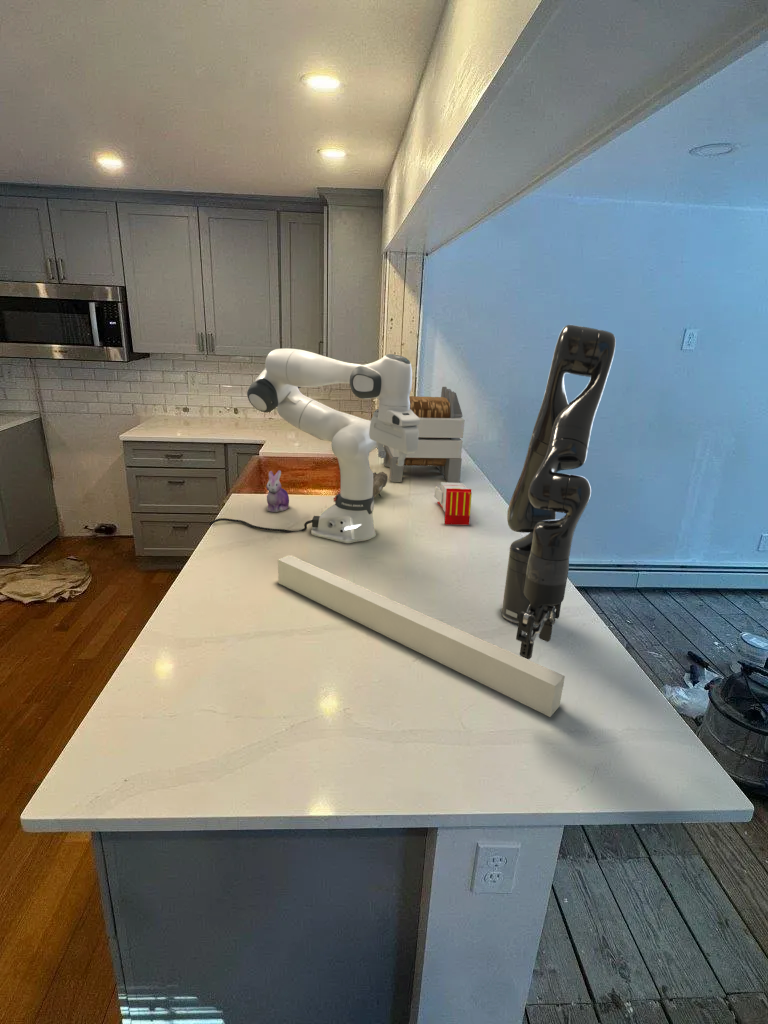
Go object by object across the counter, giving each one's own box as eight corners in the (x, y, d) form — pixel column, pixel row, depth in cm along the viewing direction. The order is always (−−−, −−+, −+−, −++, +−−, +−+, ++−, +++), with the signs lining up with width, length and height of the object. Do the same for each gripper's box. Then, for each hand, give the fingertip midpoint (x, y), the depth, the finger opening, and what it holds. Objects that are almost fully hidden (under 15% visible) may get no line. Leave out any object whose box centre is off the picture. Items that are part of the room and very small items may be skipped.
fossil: (356, 478, 247) (383, 459, 242) (370, 494, 250) (397, 476, 245) (349, 499, 228) (378, 479, 223) (363, 516, 230) (393, 497, 225)
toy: (462, 478, 235) (476, 490, 206) (460, 509, 238) (473, 526, 208) (433, 477, 234) (442, 489, 205) (431, 509, 237) (440, 525, 208)
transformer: (382, 463, 289) (386, 382, 275) (445, 464, 293) (451, 384, 279) (390, 482, 257) (394, 392, 243) (460, 483, 261) (468, 394, 247)
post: (278, 583, 161) (277, 559, 158) (290, 578, 164) (290, 554, 162) (550, 717, 112) (555, 686, 110) (559, 706, 115) (565, 675, 113)
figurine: (269, 514, 212) (268, 475, 207) (262, 505, 221) (260, 468, 216) (293, 511, 217) (293, 473, 212) (285, 503, 225) (284, 466, 220)
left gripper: (365, 408, 167) (362, 453, 172) (405, 421, 151) (401, 471, 156) (383, 407, 171) (380, 452, 175) (423, 420, 155) (419, 469, 160)
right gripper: (549, 594, 100) (536, 671, 106) (580, 569, 111) (567, 641, 116) (510, 580, 105) (501, 655, 110) (544, 558, 115) (533, 627, 121)
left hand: (390, 461), depth 166 cm, fingers open, 8 cm apart
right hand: (535, 648), depth 113 cm, fingers open, 8 cm apart
